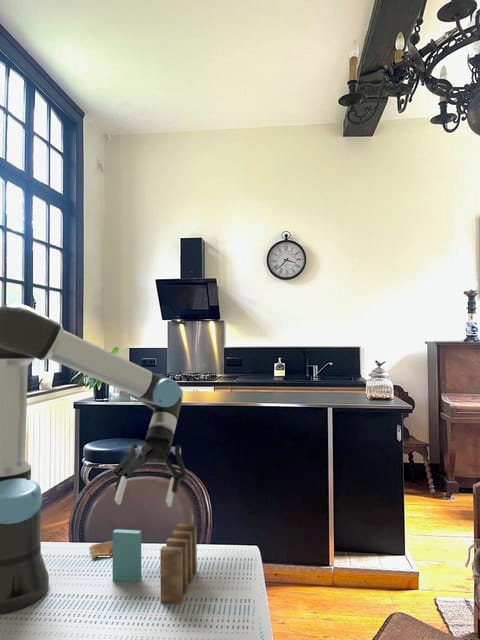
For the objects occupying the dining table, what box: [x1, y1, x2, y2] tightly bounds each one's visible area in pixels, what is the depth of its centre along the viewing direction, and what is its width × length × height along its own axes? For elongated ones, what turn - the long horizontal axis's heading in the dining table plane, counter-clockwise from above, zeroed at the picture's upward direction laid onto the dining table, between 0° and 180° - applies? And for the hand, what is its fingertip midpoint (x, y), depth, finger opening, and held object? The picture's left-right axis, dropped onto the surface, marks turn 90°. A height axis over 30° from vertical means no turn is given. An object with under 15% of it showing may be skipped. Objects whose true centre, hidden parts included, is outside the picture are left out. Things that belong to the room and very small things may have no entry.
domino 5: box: [159, 545, 184, 605], centre depth 94 cm, size 4×2×11 cm, turn 81°
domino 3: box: [171, 530, 193, 585], centre depth 102 cm, size 4×2×11 cm, turn 81°
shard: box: [88, 540, 113, 559], centre depth 118 cm, size 11×8×2 cm
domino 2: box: [176, 523, 198, 576], centre depth 106 cm, size 4×2×11 cm, turn 81°
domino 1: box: [112, 528, 142, 584], centre depth 103 cm, size 6×2×11 cm, turn 81°
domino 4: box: [165, 537, 189, 595], centre depth 98 cm, size 4×2×11 cm, turn 81°
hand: (142, 503), depth 113 cm, fingers open, 13 cm apart
